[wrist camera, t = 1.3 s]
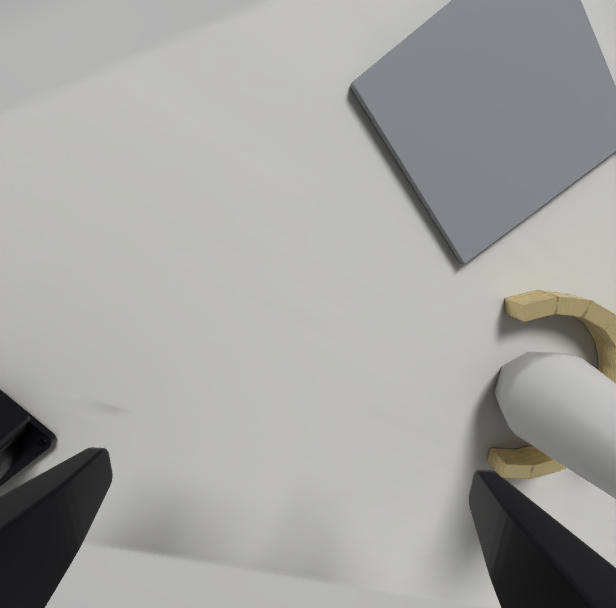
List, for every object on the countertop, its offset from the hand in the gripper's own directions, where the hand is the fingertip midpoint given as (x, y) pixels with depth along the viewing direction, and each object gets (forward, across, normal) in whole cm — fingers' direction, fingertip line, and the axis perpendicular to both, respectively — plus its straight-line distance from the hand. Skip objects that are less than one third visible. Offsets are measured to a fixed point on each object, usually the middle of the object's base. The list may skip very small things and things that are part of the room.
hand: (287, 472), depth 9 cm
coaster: (+14, -9, -10) cm, 20 cm away
